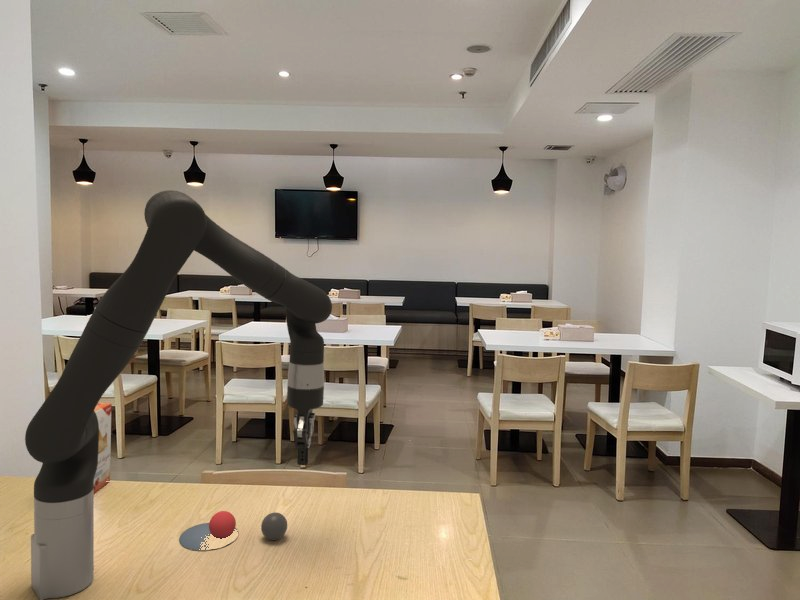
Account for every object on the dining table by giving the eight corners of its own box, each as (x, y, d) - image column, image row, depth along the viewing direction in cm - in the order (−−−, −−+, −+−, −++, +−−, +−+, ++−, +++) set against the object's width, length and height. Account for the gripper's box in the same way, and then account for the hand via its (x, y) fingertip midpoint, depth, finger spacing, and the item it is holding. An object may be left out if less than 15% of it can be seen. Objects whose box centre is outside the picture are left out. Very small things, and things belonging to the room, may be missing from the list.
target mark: (195, 557, 116) (195, 556, 116) (169, 534, 124) (169, 533, 124) (248, 538, 125) (248, 537, 125) (221, 518, 133) (221, 517, 133)
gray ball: (273, 521, 121) (264, 546, 121) (295, 520, 124) (287, 544, 125) (261, 507, 125) (253, 531, 125) (283, 507, 129) (275, 530, 129)
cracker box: (81, 506, 136) (81, 418, 134) (55, 504, 136) (55, 416, 134) (112, 481, 150) (112, 402, 148) (89, 480, 150) (89, 400, 148)
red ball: (228, 527, 120) (204, 539, 121) (242, 535, 124) (219, 545, 125) (225, 503, 124) (202, 514, 124) (238, 511, 128) (216, 521, 128)
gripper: (319, 392, 115) (316, 476, 117) (327, 377, 128) (324, 453, 130) (281, 390, 115) (278, 475, 116) (293, 375, 128) (291, 452, 130)
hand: (303, 463), depth 123 cm, fingers closed
